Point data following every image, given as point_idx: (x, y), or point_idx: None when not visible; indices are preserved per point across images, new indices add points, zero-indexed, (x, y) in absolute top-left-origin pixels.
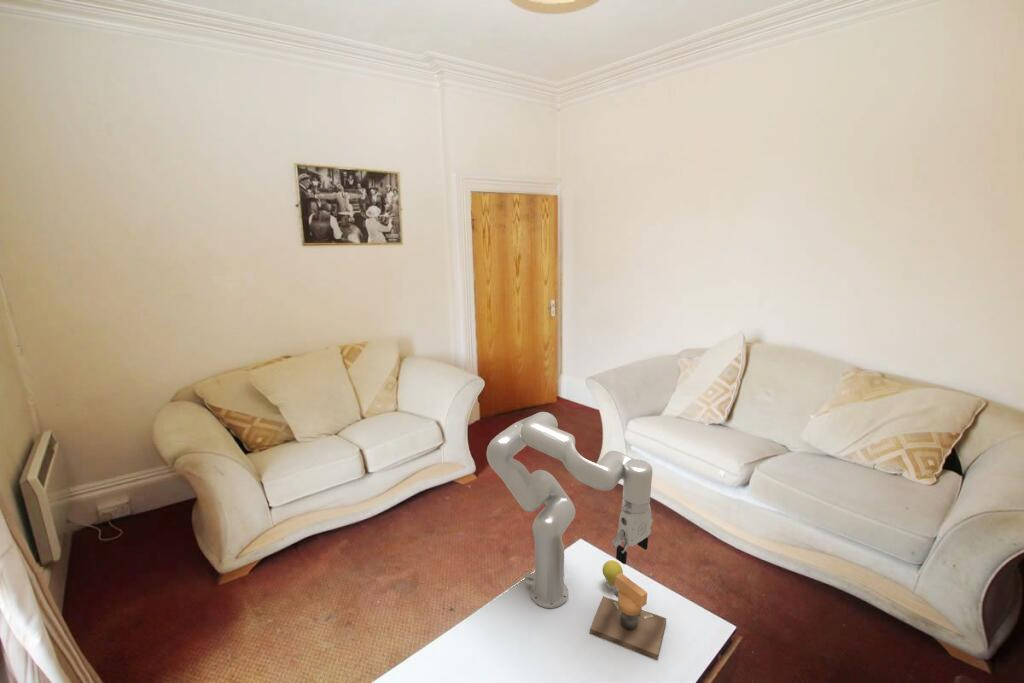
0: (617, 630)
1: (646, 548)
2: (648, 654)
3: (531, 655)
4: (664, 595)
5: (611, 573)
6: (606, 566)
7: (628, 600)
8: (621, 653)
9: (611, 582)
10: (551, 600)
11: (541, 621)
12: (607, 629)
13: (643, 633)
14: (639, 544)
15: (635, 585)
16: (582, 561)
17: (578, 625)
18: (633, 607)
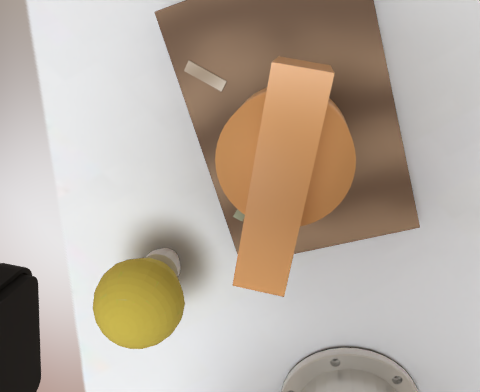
0: (357, 140)
1: (9, 274)
2: None
3: None
4: (45, 89)
5: (167, 301)
6: (156, 337)
7: (327, 152)
8: (421, 78)
9: (175, 274)
10: (390, 389)
11: (474, 365)
12: (379, 173)
13: (297, 48)
14: (26, 376)
15: (267, 161)
16: (142, 386)
17: (406, 265)
18: (335, 110)
